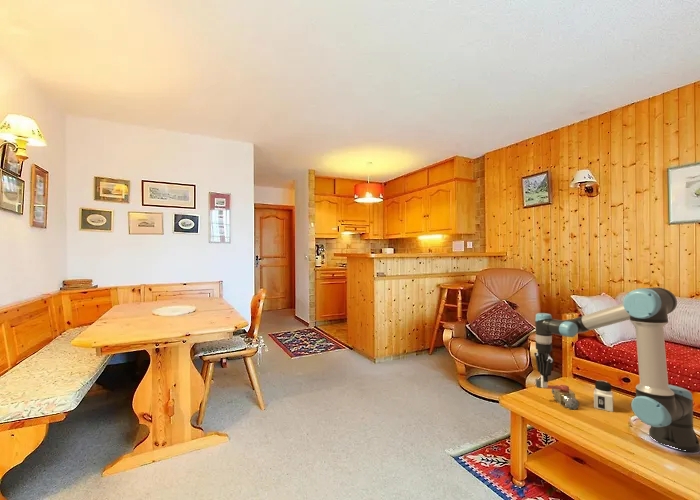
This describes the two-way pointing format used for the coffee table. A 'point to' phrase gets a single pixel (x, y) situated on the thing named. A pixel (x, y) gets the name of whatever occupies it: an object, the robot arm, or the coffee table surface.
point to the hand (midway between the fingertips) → (544, 387)
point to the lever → (561, 387)
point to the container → (603, 396)
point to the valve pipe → (565, 398)
